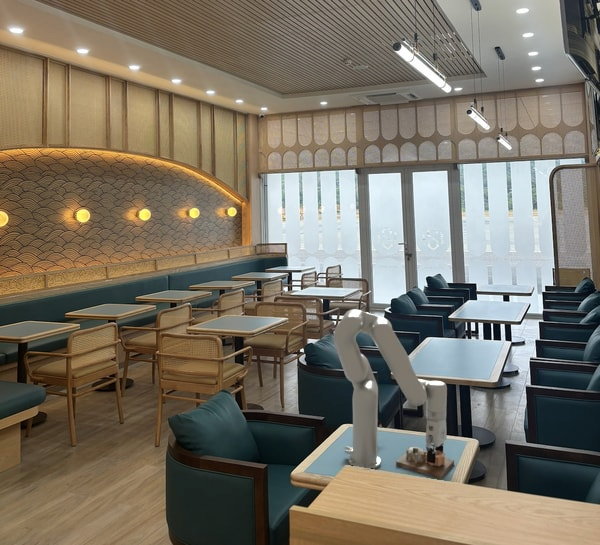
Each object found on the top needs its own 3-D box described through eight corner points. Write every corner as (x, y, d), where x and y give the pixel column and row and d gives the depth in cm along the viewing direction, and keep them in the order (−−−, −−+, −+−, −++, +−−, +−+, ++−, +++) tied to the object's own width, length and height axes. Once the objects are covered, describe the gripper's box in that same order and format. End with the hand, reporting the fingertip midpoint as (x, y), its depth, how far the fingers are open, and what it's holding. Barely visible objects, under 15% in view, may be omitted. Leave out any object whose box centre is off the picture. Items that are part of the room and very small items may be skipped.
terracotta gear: (422, 462, 200) (422, 454, 200) (429, 455, 206) (429, 447, 206) (440, 467, 196) (441, 459, 196) (447, 460, 202) (448, 452, 202)
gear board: (396, 465, 203) (396, 449, 203) (410, 452, 215) (411, 437, 214) (440, 478, 193) (441, 462, 192) (454, 463, 204) (454, 448, 203)
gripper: (437, 423, 190) (435, 470, 192) (453, 409, 204) (452, 452, 206) (417, 418, 194) (416, 464, 196) (435, 405, 208) (434, 448, 210)
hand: (435, 458), depth 201 cm, fingers closed on terracotta gear, 7 cm apart
